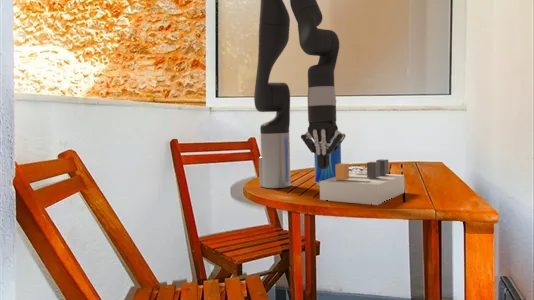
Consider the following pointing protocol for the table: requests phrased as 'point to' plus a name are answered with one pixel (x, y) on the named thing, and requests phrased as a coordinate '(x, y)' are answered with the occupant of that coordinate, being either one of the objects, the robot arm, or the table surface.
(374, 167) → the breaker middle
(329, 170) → the beer can
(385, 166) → the block
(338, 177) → the block
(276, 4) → the robot arm
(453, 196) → the table surface
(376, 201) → the breaker panel
